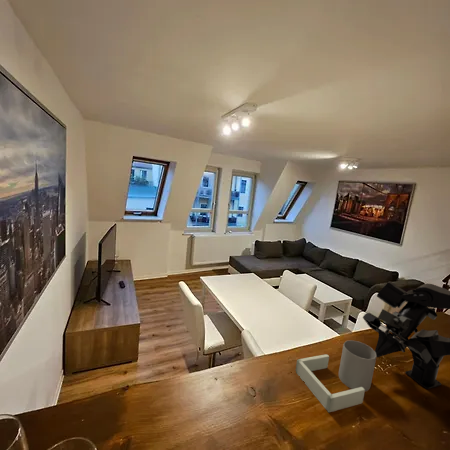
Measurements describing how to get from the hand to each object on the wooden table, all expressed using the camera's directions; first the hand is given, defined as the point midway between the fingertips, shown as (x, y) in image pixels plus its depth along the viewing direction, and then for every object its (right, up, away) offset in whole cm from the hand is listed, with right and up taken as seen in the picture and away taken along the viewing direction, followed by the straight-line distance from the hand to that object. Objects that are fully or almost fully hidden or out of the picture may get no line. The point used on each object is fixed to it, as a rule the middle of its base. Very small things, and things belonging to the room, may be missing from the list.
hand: (375, 355), depth 75 cm
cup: (-7, -7, -1) cm, 10 cm away
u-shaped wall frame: (-16, -6, -5) cm, 18 cm away
